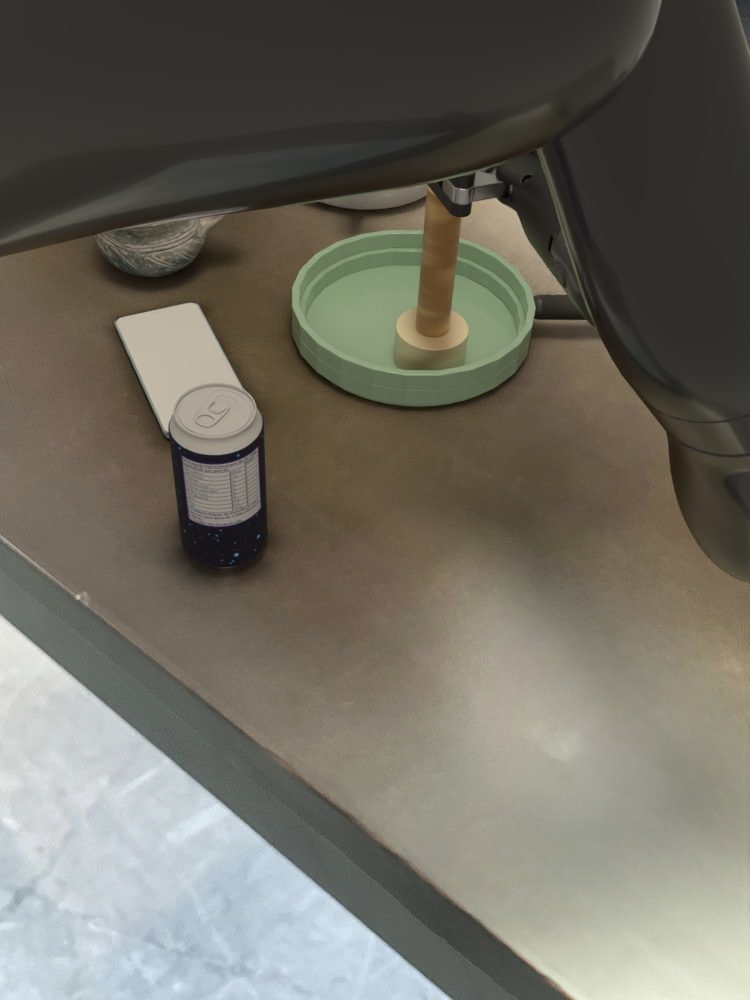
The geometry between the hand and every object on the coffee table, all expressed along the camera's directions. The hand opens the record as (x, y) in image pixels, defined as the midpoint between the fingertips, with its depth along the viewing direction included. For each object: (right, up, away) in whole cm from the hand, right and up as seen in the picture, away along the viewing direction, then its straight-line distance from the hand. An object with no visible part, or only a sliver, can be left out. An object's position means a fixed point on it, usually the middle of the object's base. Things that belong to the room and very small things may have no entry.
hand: (502, 91), depth 67 cm
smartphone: (-22, -14, +21) cm, 34 cm away
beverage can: (-17, -27, +9) cm, 33 cm away
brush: (-3, -13, +23) cm, 26 cm away
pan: (-5, -10, +26) cm, 28 cm away
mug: (-25, -3, +32) cm, 41 cm away
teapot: (-9, +7, +43) cm, 45 cm away
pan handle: (+10, -9, +26) cm, 29 cm away
